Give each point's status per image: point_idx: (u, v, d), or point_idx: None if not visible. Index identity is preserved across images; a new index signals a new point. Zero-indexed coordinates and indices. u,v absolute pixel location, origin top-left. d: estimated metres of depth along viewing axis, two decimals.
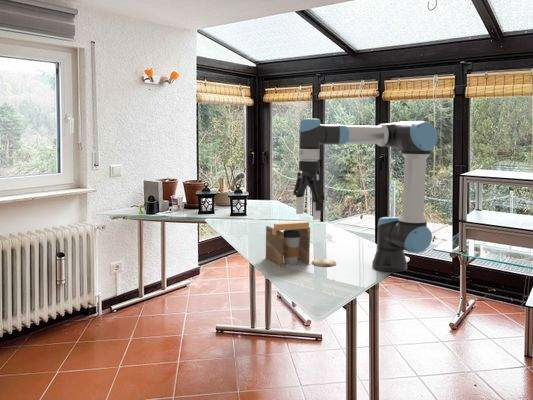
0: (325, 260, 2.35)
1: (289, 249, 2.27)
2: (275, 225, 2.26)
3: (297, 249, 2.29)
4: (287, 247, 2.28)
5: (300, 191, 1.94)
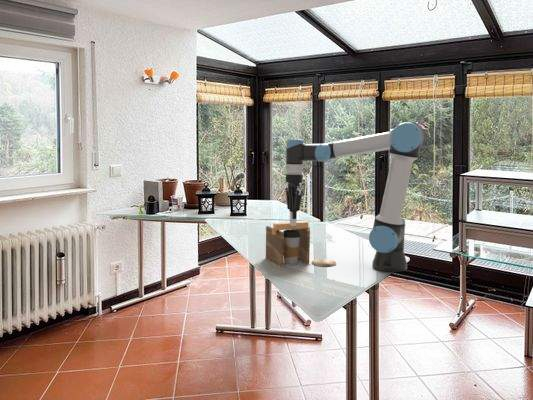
0: (325, 260, 2.35)
1: (289, 249, 2.27)
2: (275, 225, 2.26)
3: (297, 249, 2.29)
4: (287, 247, 2.28)
5: (291, 203, 2.27)
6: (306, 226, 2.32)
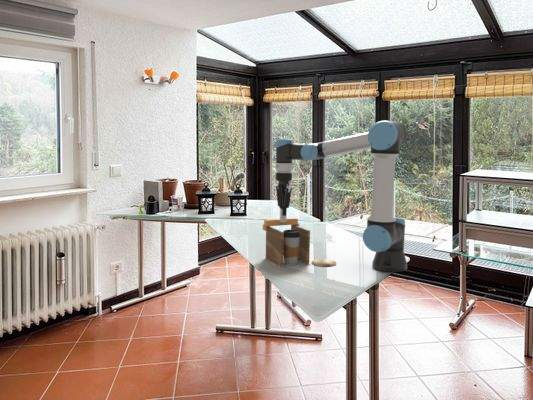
0: (325, 260, 2.35)
1: (289, 249, 2.27)
2: (265, 221, 2.36)
3: (297, 249, 2.29)
4: (287, 247, 2.28)
5: (281, 200, 2.37)
6: (296, 222, 2.41)
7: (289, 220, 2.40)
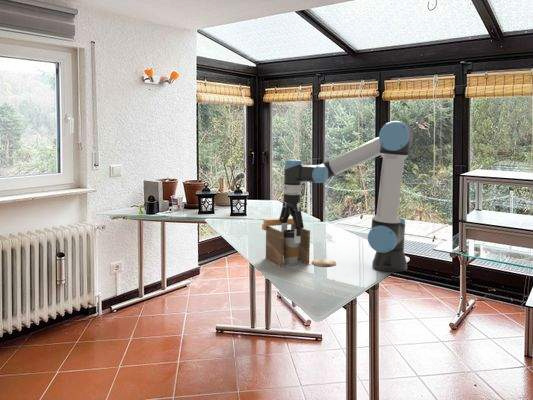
0: (325, 260, 2.35)
1: (289, 249, 2.27)
2: (265, 221, 2.37)
3: (297, 249, 2.29)
4: (287, 247, 2.28)
5: (284, 218, 2.34)
6: None
7: (288, 220, 2.40)
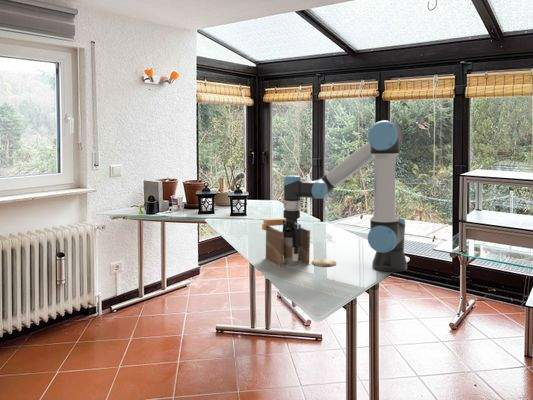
0: (325, 260, 2.35)
1: (289, 249, 2.27)
2: (265, 221, 2.37)
3: None
4: (287, 247, 2.28)
5: None
6: None
7: None
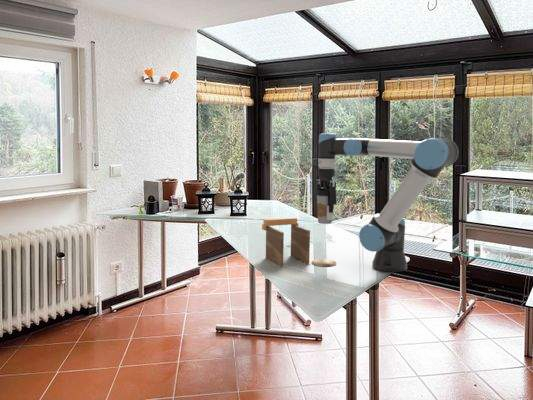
0: (325, 260, 2.35)
1: (323, 207, 2.25)
2: (265, 221, 2.37)
3: None
4: (322, 205, 2.25)
5: None
6: (295, 222, 2.42)
7: (288, 220, 2.40)
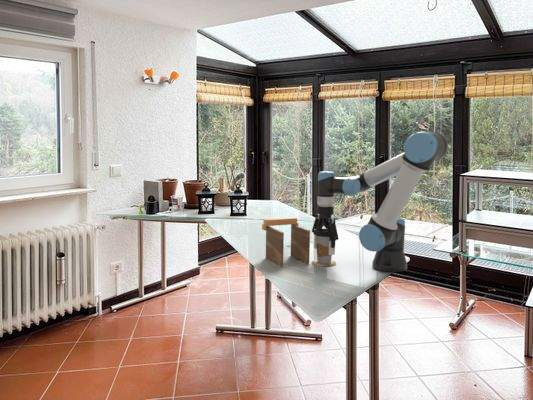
0: None
1: (323, 248, 2.27)
2: (265, 221, 2.37)
3: None
4: (321, 246, 2.28)
5: None
6: (295, 222, 2.42)
7: (288, 220, 2.40)
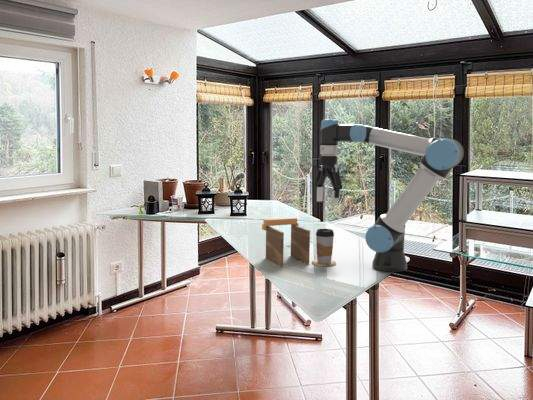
0: None
1: (323, 248, 2.27)
2: (265, 221, 2.37)
3: (331, 248, 2.29)
4: (321, 246, 2.28)
5: (320, 182, 2.26)
6: (295, 222, 2.42)
7: (288, 220, 2.40)
